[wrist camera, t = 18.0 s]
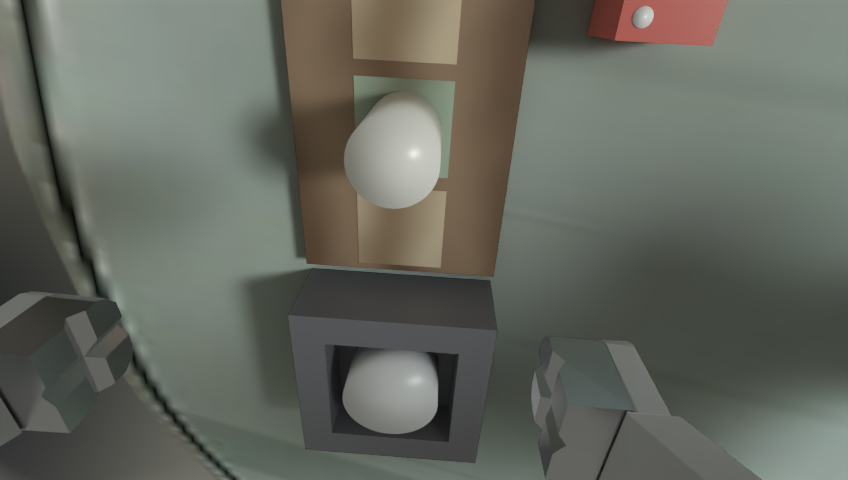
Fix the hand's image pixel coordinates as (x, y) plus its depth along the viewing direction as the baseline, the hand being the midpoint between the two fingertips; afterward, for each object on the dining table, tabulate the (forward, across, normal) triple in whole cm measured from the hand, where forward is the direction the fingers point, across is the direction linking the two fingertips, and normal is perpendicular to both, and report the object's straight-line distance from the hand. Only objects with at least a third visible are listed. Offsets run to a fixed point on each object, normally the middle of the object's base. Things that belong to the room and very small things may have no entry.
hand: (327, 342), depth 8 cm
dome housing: (+18, 0, +16) cm, 24 cm away
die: (+18, -11, -7) cm, 22 cm away
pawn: (+17, 0, 0) cm, 17 cm away
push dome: (+15, 0, +16) cm, 22 cm away
